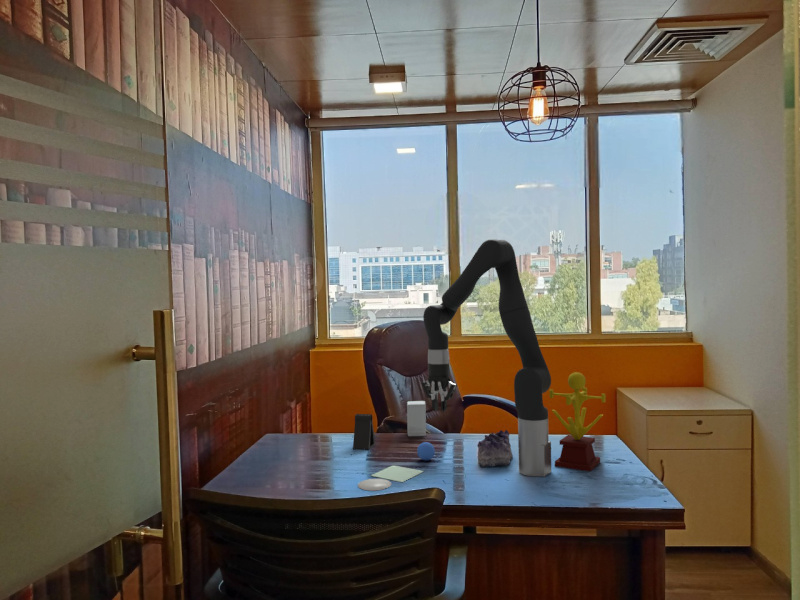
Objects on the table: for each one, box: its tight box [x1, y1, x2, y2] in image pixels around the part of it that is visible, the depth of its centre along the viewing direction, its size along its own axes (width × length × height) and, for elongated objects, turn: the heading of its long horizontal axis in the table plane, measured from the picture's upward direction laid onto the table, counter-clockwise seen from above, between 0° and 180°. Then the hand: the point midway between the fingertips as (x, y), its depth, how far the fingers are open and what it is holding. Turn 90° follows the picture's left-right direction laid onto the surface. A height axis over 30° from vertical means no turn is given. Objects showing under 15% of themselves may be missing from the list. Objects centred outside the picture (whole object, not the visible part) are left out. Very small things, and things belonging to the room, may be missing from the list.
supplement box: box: [406, 400, 427, 437], centre depth 236 cm, size 7×7×13 cm
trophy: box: [548, 371, 607, 472], centre depth 193 cm, size 14×16×30 cm
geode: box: [476, 429, 514, 468], centre depth 199 cm, size 20×12×10 cm, turn 163°
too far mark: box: [357, 478, 392, 492], centre depth 177 cm, size 10×10×1 cm
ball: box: [416, 441, 436, 461], centre depth 201 cm, size 6×6×6 cm
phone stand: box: [352, 413, 376, 451], centre depth 220 cm, size 9×6×12 cm, turn 166°
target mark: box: [370, 465, 424, 483], centre depth 187 cm, size 12×12×1 cm
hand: (439, 410), depth 209 cm, fingers open, 2 cm apart
